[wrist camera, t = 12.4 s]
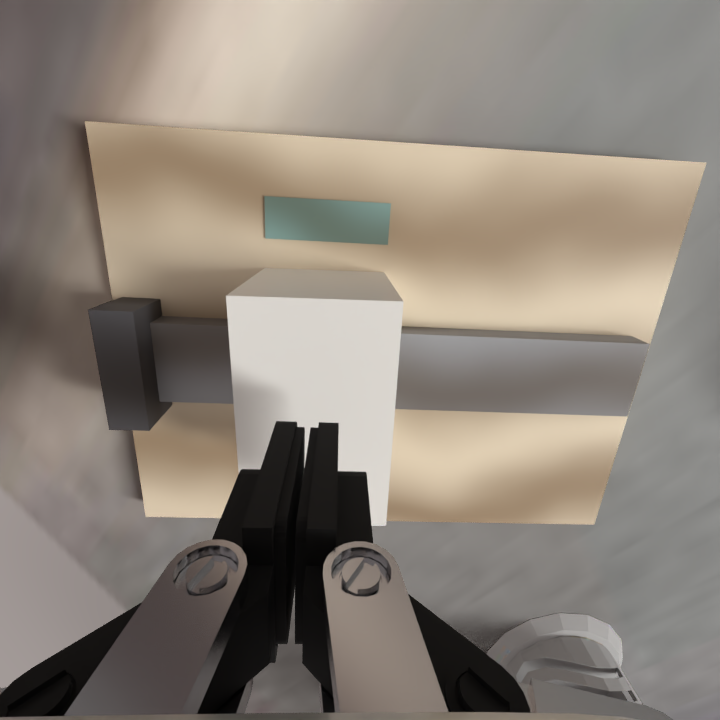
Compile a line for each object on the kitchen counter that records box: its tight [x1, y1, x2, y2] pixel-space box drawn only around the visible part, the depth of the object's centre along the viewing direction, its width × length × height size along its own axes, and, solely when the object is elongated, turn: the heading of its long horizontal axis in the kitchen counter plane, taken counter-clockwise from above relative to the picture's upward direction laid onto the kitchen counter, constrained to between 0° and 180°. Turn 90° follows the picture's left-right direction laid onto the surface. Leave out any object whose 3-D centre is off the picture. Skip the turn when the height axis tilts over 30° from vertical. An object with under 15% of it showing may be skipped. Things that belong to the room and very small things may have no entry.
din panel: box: [85, 121, 706, 525], centre depth 18 cm, size 18×24×4 cm
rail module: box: [226, 268, 404, 526], centre depth 16 cm, size 9×5×6 cm, turn 178°
